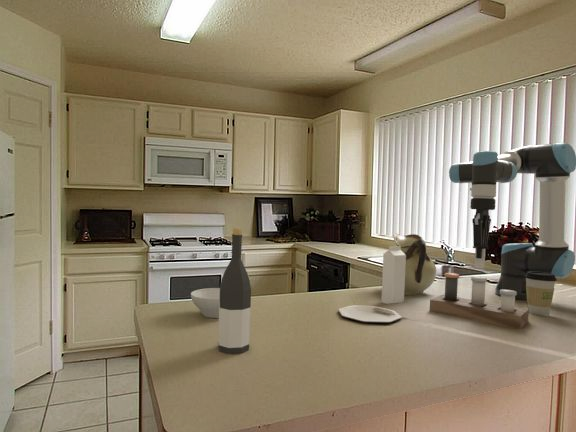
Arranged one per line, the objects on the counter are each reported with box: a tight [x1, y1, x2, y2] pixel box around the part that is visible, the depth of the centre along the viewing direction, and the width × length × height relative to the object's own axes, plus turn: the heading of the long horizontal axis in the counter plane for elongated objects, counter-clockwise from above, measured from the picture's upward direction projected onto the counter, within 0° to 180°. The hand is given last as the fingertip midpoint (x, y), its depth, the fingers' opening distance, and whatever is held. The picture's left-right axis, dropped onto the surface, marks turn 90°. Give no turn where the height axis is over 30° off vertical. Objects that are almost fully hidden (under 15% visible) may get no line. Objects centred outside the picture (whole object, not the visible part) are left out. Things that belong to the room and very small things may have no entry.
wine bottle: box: [217, 228, 252, 355], centre depth 101 cm, size 8×8×30 cm
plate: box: [337, 304, 402, 324], centre depth 136 cm, size 20×20×2 cm
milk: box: [381, 245, 406, 305], centre depth 155 cm, size 6×6×22 cm
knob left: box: [499, 289, 517, 312], centre depth 131 cm, size 5×5×9 cm
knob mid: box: [470, 276, 488, 306], centre depth 137 cm, size 5×5×9 cm
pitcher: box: [393, 233, 437, 296], centre depth 176 cm, size 22×24×25 cm
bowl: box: [190, 287, 220, 319], centre depth 131 cm, size 16×16×7 cm
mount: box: [429, 294, 529, 330], centre depth 137 cm, size 12×28×5 cm, turn 49°
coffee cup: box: [525, 271, 557, 317], centre depth 146 cm, size 10×10×15 cm
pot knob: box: [444, 272, 460, 301], centre depth 143 cm, size 5×5×9 cm
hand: (479, 267), depth 137 cm, fingers closed
